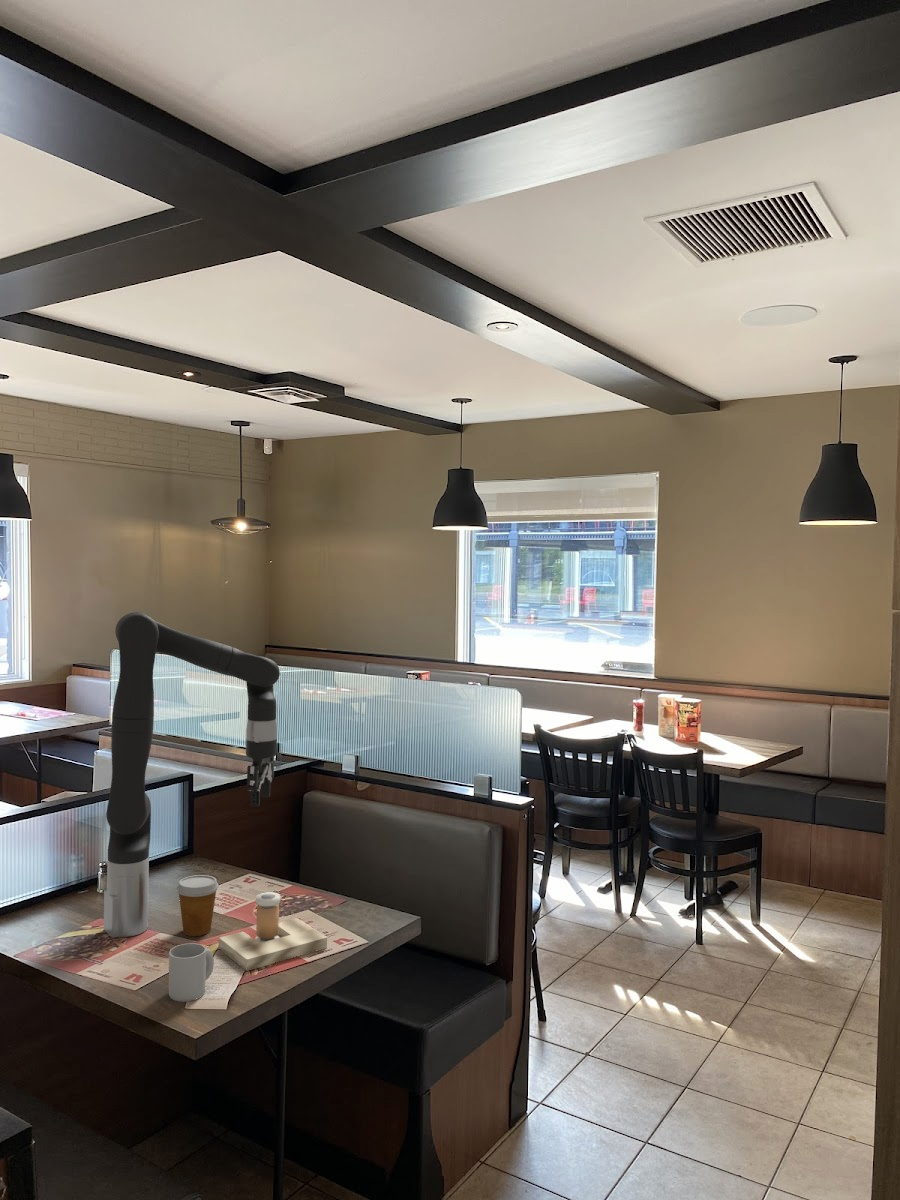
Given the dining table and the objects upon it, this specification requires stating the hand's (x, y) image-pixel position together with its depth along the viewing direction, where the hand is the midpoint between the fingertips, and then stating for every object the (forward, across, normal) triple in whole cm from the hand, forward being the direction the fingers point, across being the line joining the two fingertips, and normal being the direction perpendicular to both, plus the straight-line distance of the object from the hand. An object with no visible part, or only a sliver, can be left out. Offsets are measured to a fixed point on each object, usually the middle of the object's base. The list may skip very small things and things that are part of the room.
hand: (260, 801), depth 226 cm
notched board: (+28, +20, +10) cm, 36 cm away
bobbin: (+28, +18, +8) cm, 34 cm away
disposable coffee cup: (+28, +13, -11) cm, 33 cm away
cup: (+28, +42, 0) cm, 51 cm away
